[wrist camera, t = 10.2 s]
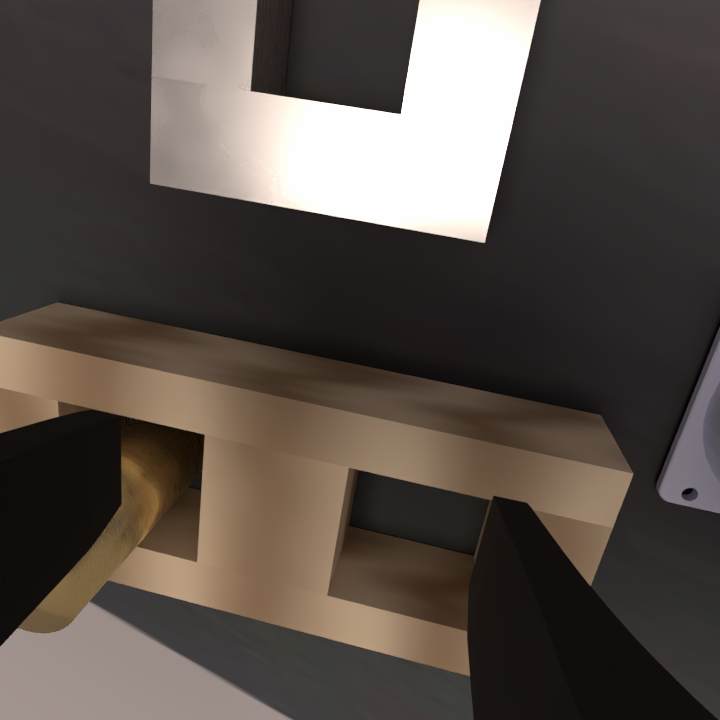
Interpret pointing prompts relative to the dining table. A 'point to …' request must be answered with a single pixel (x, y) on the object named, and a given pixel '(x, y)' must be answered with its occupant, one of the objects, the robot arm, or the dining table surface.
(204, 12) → the socket block
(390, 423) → the rack
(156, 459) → the tan brown peg
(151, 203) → the dining table surface
